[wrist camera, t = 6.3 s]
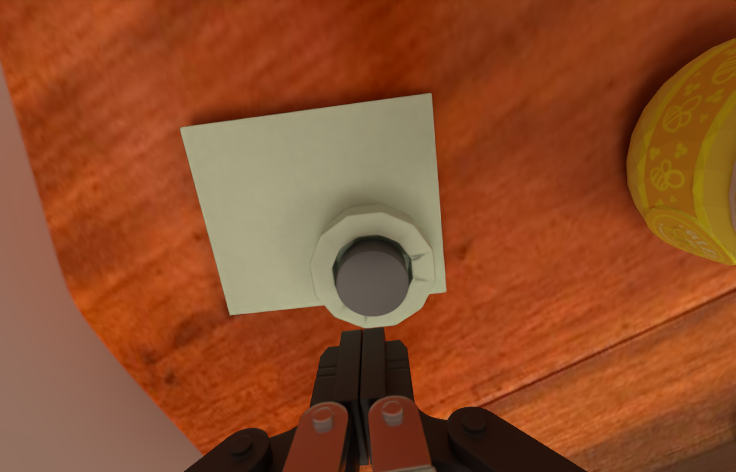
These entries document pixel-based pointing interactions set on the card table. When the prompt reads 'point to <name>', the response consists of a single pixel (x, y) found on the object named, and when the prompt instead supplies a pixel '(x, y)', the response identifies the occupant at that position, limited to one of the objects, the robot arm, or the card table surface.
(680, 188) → the mug
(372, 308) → the button
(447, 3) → the card table surface
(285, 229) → the scale
